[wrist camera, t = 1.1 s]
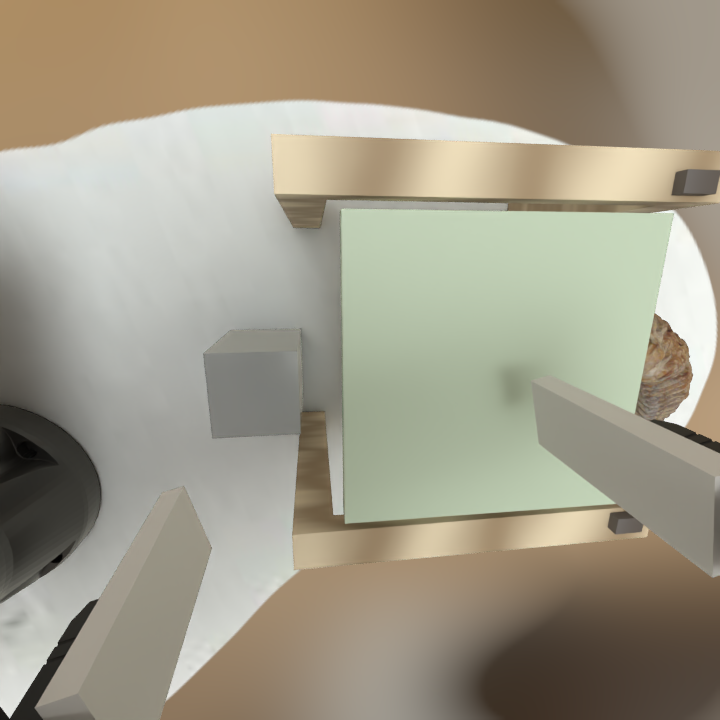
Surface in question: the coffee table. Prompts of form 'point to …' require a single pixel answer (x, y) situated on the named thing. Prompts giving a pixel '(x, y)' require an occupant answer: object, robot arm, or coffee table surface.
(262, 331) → the grey rectangular block
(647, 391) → the seashell
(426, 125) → the coffee table surface
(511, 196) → the frame
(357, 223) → the trapdoor
